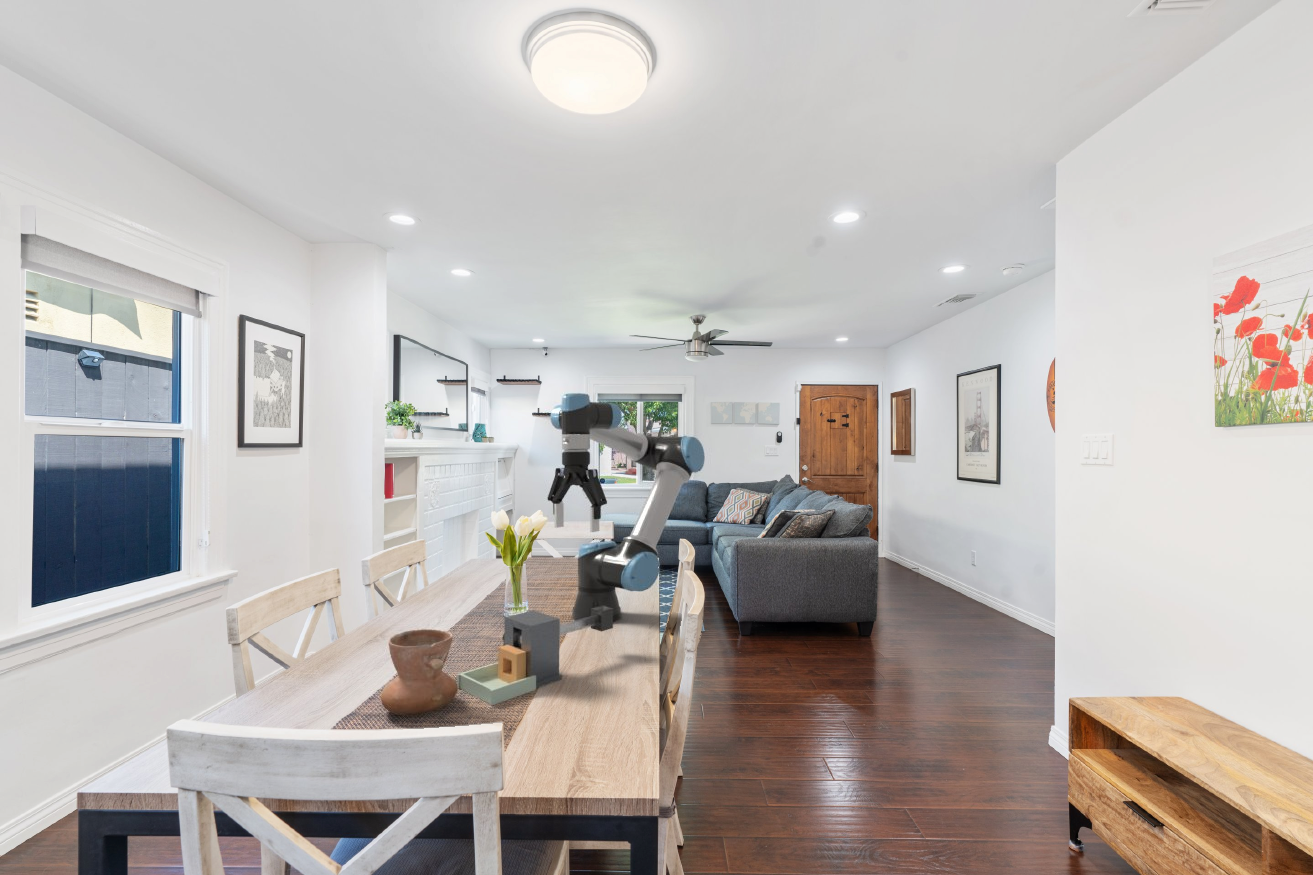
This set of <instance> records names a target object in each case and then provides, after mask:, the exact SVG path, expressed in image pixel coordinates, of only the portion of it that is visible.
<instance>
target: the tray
mask: <svg viewBox="0 0 1313 875" xmlns="http://www.w3.org/2000/svg"><path fill="white" fill-rule="evenodd" d="M456 680H457V681H456V683H457V686H458V690H459V689H460V690H462V691H463V692H466V693H468V694H470V695H472V696H473V697H475V698H478V699H479V700H481V701H484V702H485V703H488V704H489V706H494V705H496V704H499V703H503V702H505V701H509V700H510V699H513V698H517V697H519V696H523V695H525V694H527V693H530V692H533V691H536V689H537V688H536V676H535V675H533V676H530V677H527V678H524V679H521V680H518V681H515V682H512V683H507V682H504V681H502V680H500V679H498V661H497V662H495V663H491V664H487V665H484V666H480V667H477V668H474V669H469V670H468V671H464V672H460V673H457V674H456Z"/></svg>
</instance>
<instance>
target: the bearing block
mask: <svg viewBox="0 0 1313 875" xmlns="http://www.w3.org/2000/svg"><path fill="white" fill-rule="evenodd" d="M560 619H561V618H558V617H555V616H552V615H549V614H545V613H542V612H539V611H536V610H530V611H526V612H521V613H518V614H517V613H516V614H513V615H509V616H505V617H504V629H503V630H504V632H503V634H504V640H503V644H504V646H505V645H510V646H513V647H515V648H518V649H520V650H523V651H526V678H527V677H530V676H533V675H535V676H536V689H538V688H540V687H541V688H542V687H543V686H544V687H545V686H546V685H549V684H550V685H551V684H552V683H555V682H558V681H561V680H562V679H563V674H561V673H560V637H561V635H560V623H561V620H560ZM519 635H522V645H521V646H519V644H518V641H517V639H518V636H519Z"/></svg>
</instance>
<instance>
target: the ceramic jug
mask: <svg viewBox="0 0 1313 875" xmlns="http://www.w3.org/2000/svg"><path fill="white" fill-rule="evenodd" d="M452 642H453V634H452V632H450V631H446V630H439V629H430V628H429V629H427V628H426V629H424V628H422V629H412V630H411V629H410V630H407V631H403V632H400V633H396V634H393V636H391V637H390V638H389V639H388V647H389V648H388V650H389V654H390V659H391V662H392V665H393V667H394V669H395V671H396V674H397V675H396V677H394V679H392V680H391V681H389V683H387V684H386V685H385V687H383V689H382V691H381V694H380V701H381V704H382V706H383V708H385V710H386V711H388V712H390V713H393V714H395V715H399V716H409V717H410V716H411V717H412V716H422V715H425V714H430V713H433V712H437V711H438V710H440V709H442V708H444V707H446V706H447V705H449V704H450V703H451V702H452V701H453V700H454V699H455V698H456V696H457V693H458V690H459V689H458V686H457V681H456V680H455V678H454V677H452V676H451V675H449V674H448V673H446V672H445V671H443V668H444V666H445V663H446V661H447V658H448V656H449V653H450V650H451V647H452Z"/></svg>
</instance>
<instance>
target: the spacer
mask: <svg viewBox="0 0 1313 875" xmlns="http://www.w3.org/2000/svg"><path fill="white" fill-rule="evenodd" d="M497 651H498V652H497V655H498V656H497V662H498V679H500V680H502V681H504V682H507V683H512V682H515V681H518V680H521V679H524V678H526V651H523V650H520V649H518V648H515V647H513V646H510V645H505V646H503V645H501V646H499V647H498V648H497Z"/></svg>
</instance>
